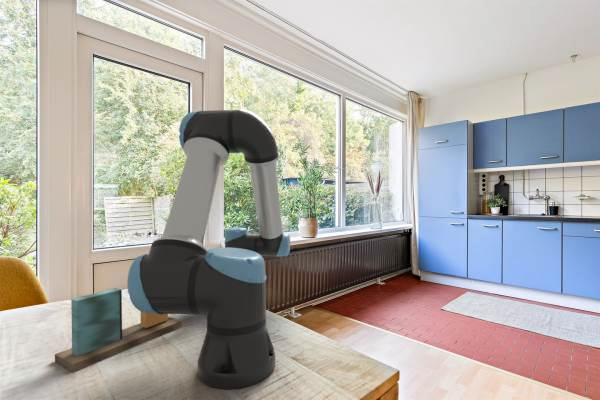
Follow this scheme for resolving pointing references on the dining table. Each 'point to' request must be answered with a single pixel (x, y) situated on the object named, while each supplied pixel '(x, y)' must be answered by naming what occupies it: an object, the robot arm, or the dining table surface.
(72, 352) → the ticket stand
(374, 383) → the dining table surface
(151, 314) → the stub
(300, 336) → the dining table surface
